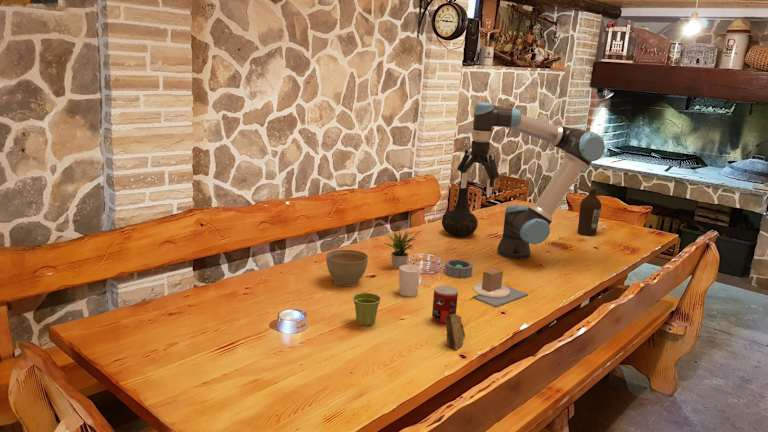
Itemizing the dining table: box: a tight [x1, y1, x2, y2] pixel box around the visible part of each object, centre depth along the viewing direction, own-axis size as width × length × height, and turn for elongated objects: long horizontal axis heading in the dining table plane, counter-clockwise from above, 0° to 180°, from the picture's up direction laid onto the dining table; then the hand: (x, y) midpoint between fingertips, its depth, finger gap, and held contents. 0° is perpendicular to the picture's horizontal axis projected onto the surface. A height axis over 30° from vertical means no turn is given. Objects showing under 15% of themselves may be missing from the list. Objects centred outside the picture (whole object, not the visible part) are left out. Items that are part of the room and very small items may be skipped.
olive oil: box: [577, 186, 602, 237], centre depth 326 cm, size 11×11×25 cm
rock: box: [445, 313, 466, 352], centre depth 195 cm, size 11×9×10 cm
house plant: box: [385, 230, 418, 269], centre depth 256 cm, size 14×14×16 cm
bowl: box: [444, 259, 474, 279], centre depth 254 cm, size 11×11×5 cm
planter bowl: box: [325, 249, 369, 287], centre depth 239 cm, size 16×16×11 cm
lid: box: [472, 267, 510, 298], centre depth 237 cm, size 14×14×8 cm
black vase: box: [441, 180, 479, 238], centre depth 309 cm, size 18×18×28 cm
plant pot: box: [352, 292, 382, 327], centre depth 205 cm, size 9×9×9 cm
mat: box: [471, 285, 529, 308], centre depth 238 cm, size 20×20×1 cm
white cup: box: [398, 264, 422, 298], centre depth 232 cm, size 8×8×10 cm
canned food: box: [431, 285, 459, 325], centre depth 210 cm, size 8×8×11 cm
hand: (475, 191), depth 260 cm, fingers open, 13 cm apart
